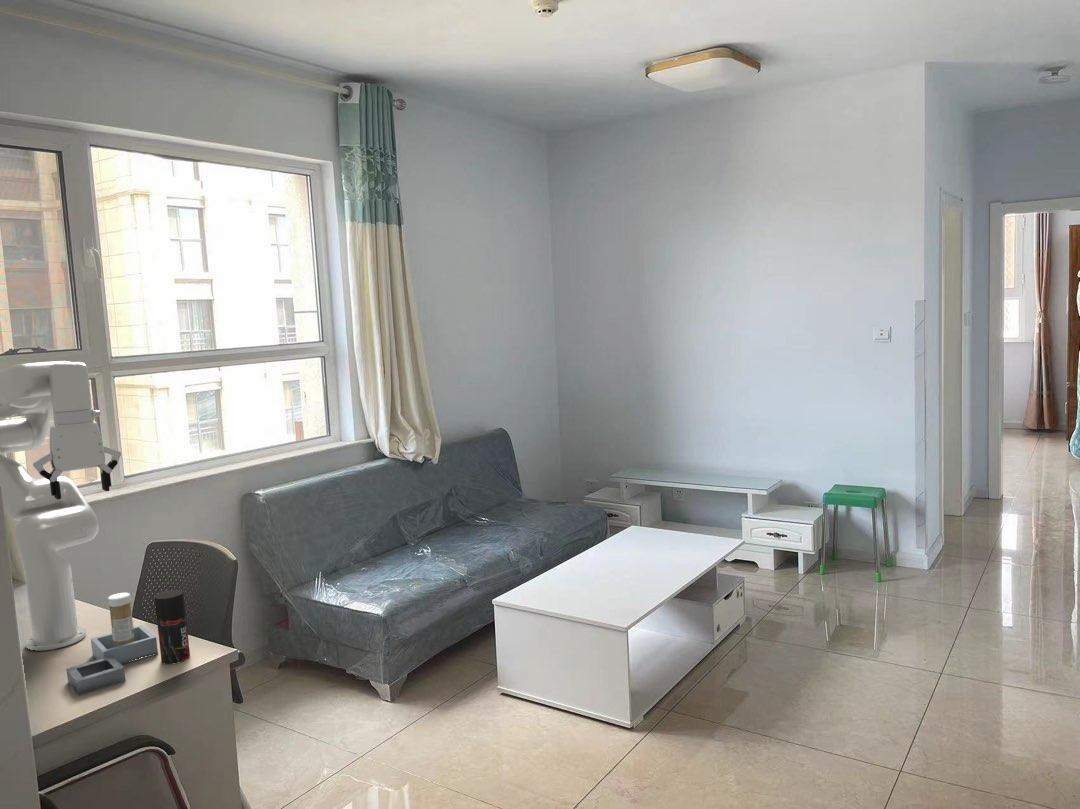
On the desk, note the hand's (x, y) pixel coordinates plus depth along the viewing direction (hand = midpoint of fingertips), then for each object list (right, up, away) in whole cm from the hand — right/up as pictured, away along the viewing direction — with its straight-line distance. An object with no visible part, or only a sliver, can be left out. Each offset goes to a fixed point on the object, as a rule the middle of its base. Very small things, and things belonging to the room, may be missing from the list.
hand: (82, 494), depth 182 cm
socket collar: (+8, -39, -9) cm, 41 cm away
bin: (+7, -37, +5) cm, 38 cm away
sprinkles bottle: (+7, -37, +5) cm, 38 cm away
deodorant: (+20, -37, +2) cm, 42 cm away
